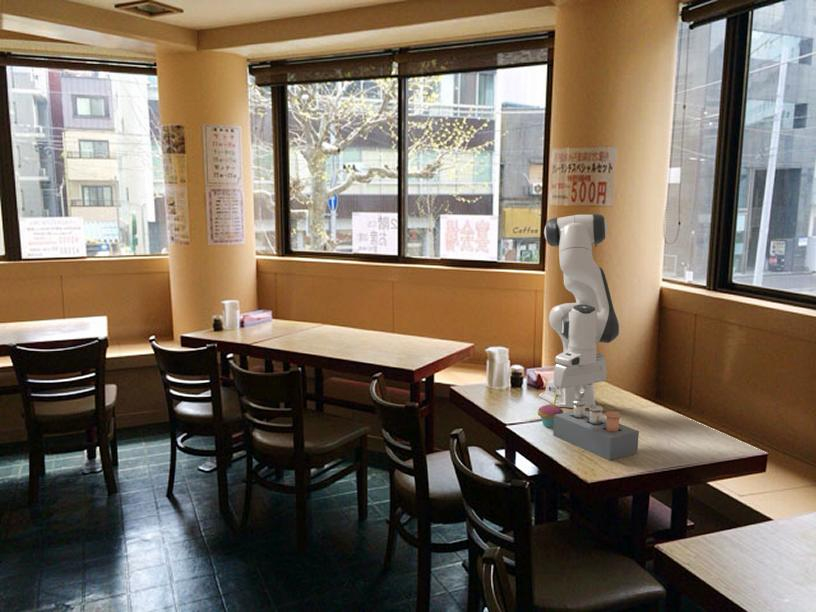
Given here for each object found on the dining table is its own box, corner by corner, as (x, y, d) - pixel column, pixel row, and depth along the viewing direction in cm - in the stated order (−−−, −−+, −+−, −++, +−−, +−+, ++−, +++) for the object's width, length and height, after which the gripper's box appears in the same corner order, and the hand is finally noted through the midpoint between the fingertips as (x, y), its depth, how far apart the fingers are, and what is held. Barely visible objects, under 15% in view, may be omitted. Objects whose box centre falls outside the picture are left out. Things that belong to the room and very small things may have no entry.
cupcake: (555, 420, 225) (557, 387, 223) (567, 428, 217) (569, 394, 215) (533, 422, 223) (534, 388, 221) (544, 430, 215) (545, 395, 213)
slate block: (553, 435, 210) (554, 414, 209) (579, 429, 216) (581, 409, 215) (609, 460, 190) (610, 437, 189) (637, 453, 196) (638, 431, 195)
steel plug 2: (584, 430, 203) (586, 406, 202) (594, 427, 205) (595, 404, 204) (594, 434, 199) (596, 409, 198) (604, 431, 201) (605, 407, 200)
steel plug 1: (568, 423, 209) (570, 400, 208) (578, 421, 211) (579, 398, 210) (578, 427, 205) (579, 403, 204) (587, 425, 207) (589, 402, 206)
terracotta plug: (601, 436, 197) (603, 412, 196) (611, 434, 199) (612, 410, 198) (612, 441, 193) (613, 416, 192) (621, 438, 195) (623, 414, 194)
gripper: (597, 350, 213) (595, 391, 215) (551, 357, 202) (549, 399, 204) (612, 354, 207) (610, 395, 209) (565, 361, 197) (563, 404, 199)
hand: (579, 397), depth 207 cm, fingers closed
